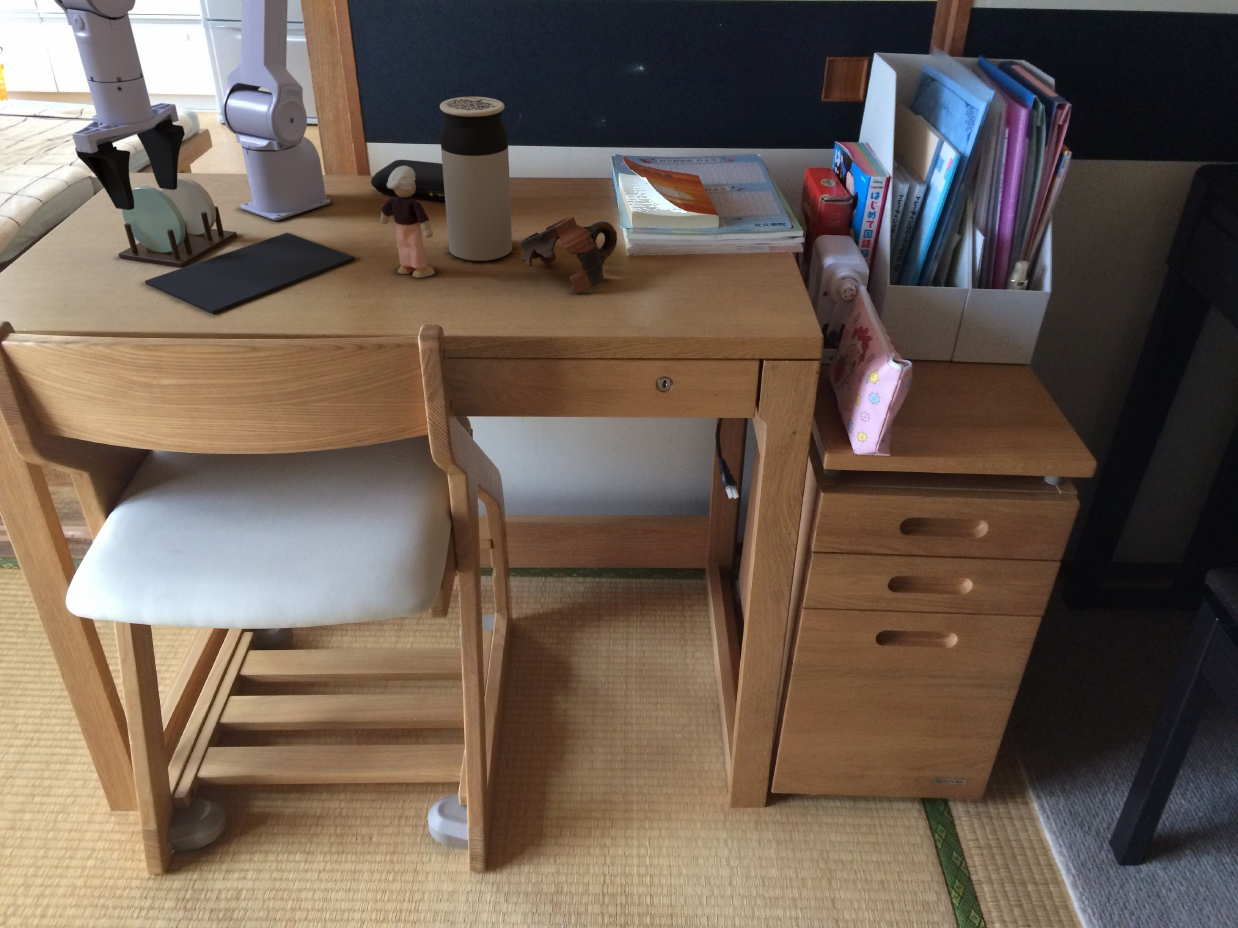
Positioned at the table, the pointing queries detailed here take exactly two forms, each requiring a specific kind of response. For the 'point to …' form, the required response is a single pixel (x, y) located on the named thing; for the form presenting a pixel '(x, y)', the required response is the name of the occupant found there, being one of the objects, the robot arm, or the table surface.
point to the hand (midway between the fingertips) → (147, 198)
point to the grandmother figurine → (408, 222)
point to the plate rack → (186, 251)
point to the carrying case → (426, 178)
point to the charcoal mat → (249, 272)
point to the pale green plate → (154, 219)
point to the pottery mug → (573, 248)
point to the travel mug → (476, 178)
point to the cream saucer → (192, 204)
